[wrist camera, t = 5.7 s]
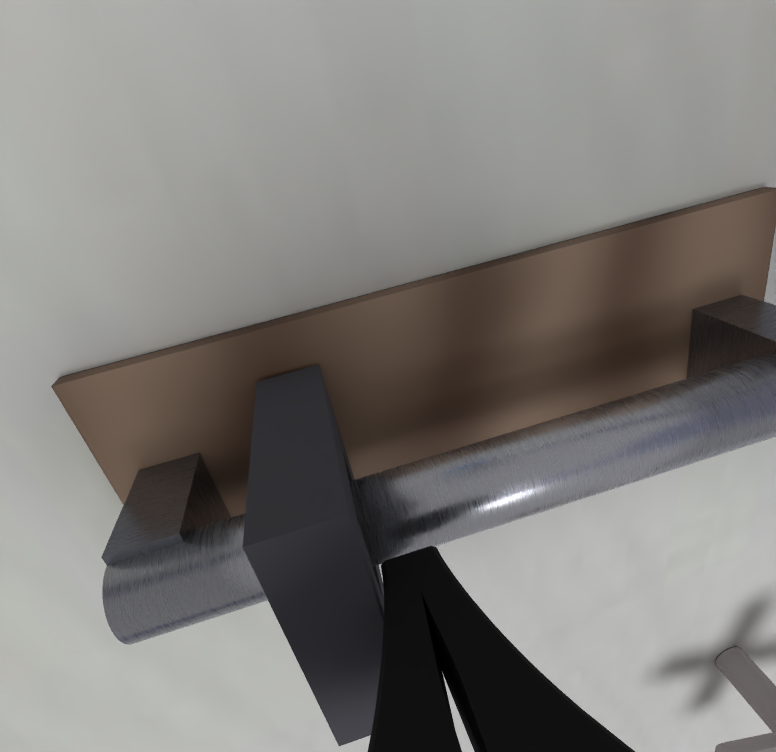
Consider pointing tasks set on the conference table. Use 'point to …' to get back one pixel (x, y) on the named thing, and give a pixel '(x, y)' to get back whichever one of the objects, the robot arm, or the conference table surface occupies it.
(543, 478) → the steel pipe
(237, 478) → the walnut board
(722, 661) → the pipe connector
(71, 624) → the conference table surface
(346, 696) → the rubber collar
